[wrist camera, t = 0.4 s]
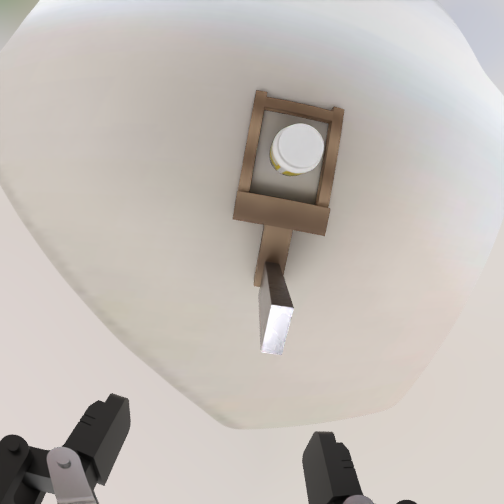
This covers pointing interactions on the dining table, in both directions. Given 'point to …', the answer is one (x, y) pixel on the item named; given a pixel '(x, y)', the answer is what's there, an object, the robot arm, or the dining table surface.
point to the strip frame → (283, 216)
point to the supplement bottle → (296, 149)
